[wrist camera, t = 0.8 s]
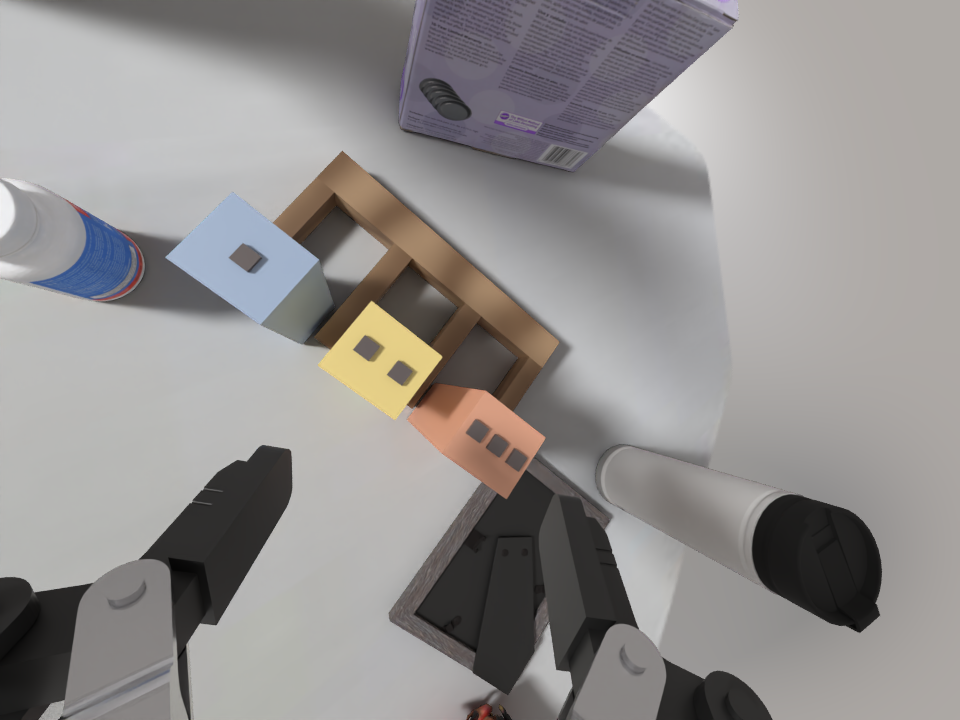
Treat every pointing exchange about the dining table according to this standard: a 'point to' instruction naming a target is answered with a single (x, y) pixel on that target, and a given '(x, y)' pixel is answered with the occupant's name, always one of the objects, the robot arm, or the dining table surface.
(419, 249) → the dock
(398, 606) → the picture frame
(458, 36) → the cake pan box
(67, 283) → the pill bottle
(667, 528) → the travel mug
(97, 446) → the dining table surface
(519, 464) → the peach rectangular block
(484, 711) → the dragon fruit
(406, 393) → the yellow block
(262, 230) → the blue block
